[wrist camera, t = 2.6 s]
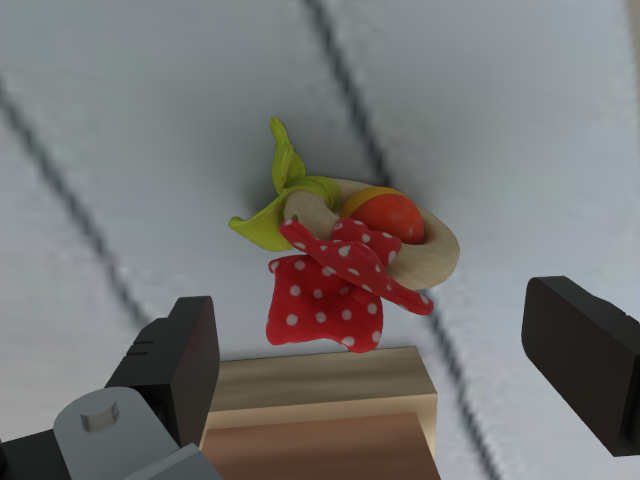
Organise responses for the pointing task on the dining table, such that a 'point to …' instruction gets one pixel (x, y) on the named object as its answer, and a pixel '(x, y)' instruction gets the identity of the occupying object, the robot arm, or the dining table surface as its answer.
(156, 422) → the robot arm
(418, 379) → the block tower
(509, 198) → the dining table surface
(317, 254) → the bird rattle
